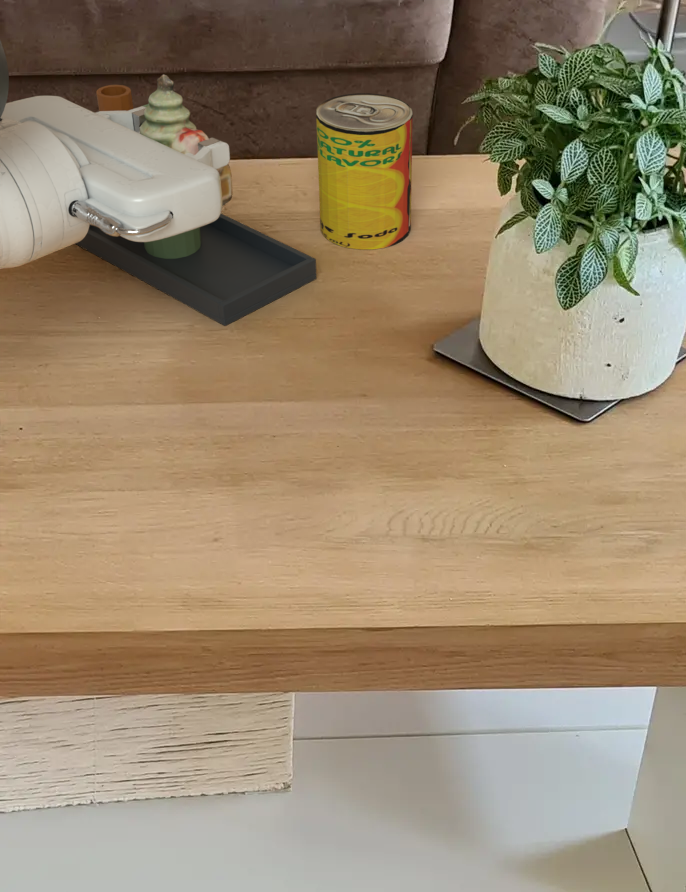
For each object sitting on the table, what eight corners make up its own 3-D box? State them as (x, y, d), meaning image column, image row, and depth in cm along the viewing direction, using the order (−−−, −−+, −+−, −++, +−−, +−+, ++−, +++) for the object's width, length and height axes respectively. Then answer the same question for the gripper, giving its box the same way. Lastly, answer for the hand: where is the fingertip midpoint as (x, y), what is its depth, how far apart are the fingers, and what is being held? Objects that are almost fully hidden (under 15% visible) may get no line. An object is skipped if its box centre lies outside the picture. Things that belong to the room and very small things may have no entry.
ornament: (247, 201, 93) (237, 79, 87) (193, 230, 89) (179, 103, 83) (174, 175, 97) (160, 55, 90) (119, 201, 92) (100, 78, 86)
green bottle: (134, 251, 111) (113, 109, 102) (177, 232, 114) (160, 93, 105) (170, 270, 108) (151, 126, 100) (212, 250, 111) (198, 109, 103)
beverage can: (392, 256, 112) (393, 137, 104) (305, 239, 114) (300, 122, 106) (422, 215, 118) (425, 101, 111) (340, 200, 120) (337, 87, 113)
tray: (63, 237, 112) (59, 217, 111) (155, 199, 119) (153, 180, 118) (225, 326, 101) (222, 305, 100) (316, 278, 108) (316, 258, 107)
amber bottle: (95, 230, 114) (71, 90, 105) (138, 212, 117) (119, 75, 108) (129, 248, 111) (107, 106, 103) (172, 229, 114) (154, 90, 106)
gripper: (119, 196, 74) (278, 134, 83) (-59, 106, 84) (100, 58, 93) (131, 282, 78) (282, 214, 87) (-40, 186, 88) (111, 134, 97)
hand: (186, 133), depth 90 cm, fingers closed on ornament, 7 cm apart
